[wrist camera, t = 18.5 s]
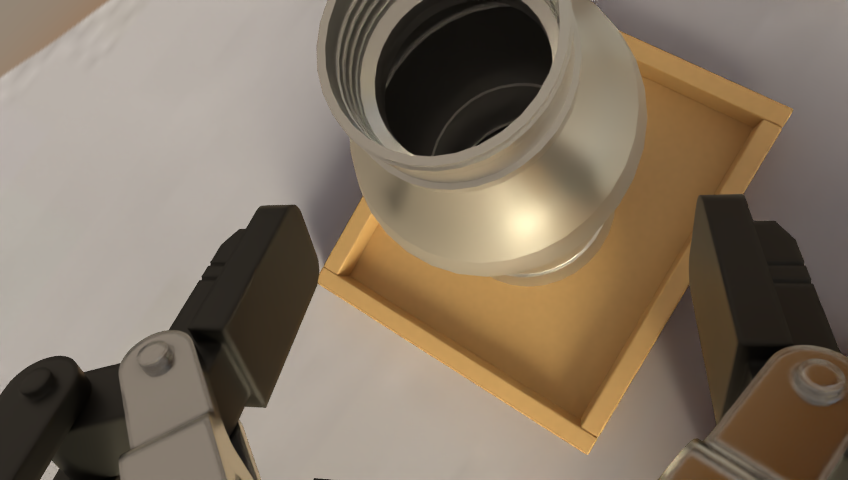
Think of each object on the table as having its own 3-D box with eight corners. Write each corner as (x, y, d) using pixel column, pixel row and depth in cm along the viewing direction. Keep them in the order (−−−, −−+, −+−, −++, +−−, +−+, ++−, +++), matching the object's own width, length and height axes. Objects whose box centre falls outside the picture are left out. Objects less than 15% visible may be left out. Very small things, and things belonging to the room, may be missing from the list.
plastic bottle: (433, 233, 29) (142, 124, 10) (518, 108, 29) (389, -269, 9) (553, 316, 28) (489, 382, 8) (644, 186, 27) (805, -72, 8)
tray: (587, 442, 28) (587, 455, 25) (332, 282, 31) (314, 281, 29) (777, 123, 27) (794, 108, 25) (494, -7, 30) (488, -30, 28)
